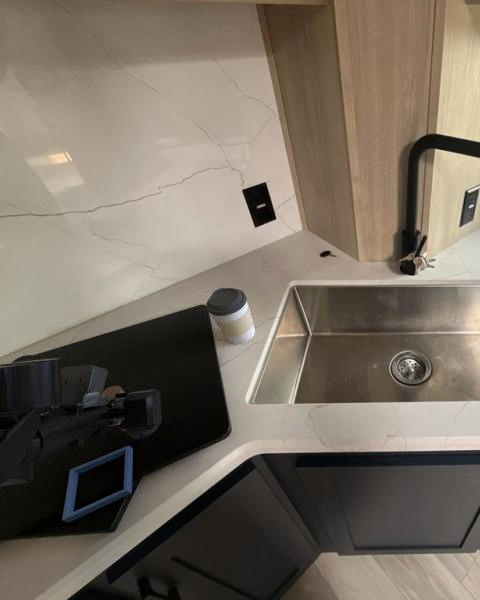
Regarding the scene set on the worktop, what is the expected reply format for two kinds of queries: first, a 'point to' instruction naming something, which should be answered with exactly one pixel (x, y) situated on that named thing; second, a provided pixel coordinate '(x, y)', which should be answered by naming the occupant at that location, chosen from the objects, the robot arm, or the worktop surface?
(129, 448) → the blue square frame
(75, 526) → the worktop surface
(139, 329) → the worktop surface
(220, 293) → the coffee cup
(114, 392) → the dish brush
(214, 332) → the worktop surface
